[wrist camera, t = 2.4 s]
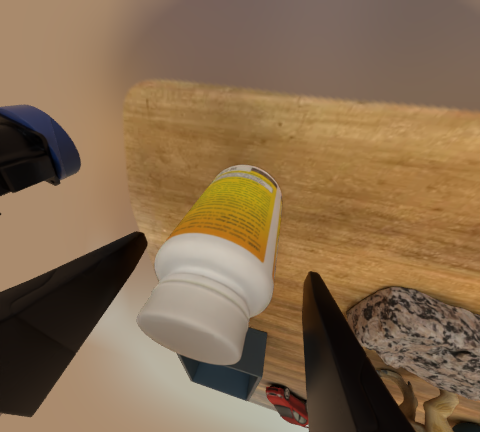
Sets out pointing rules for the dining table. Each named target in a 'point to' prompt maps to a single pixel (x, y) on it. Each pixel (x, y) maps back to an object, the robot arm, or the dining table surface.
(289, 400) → the toy car
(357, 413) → the robot arm
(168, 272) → the supplement bottle
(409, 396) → the dinosaur figurine
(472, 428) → the christmas ornament
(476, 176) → the dining table surface
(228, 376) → the storage tote
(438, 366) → the rock
